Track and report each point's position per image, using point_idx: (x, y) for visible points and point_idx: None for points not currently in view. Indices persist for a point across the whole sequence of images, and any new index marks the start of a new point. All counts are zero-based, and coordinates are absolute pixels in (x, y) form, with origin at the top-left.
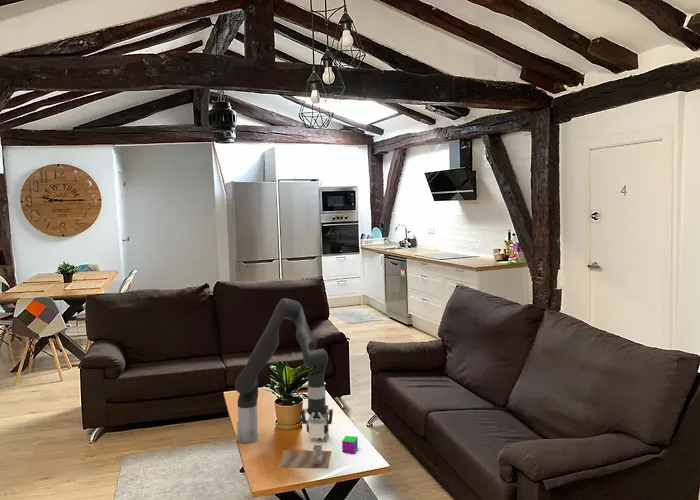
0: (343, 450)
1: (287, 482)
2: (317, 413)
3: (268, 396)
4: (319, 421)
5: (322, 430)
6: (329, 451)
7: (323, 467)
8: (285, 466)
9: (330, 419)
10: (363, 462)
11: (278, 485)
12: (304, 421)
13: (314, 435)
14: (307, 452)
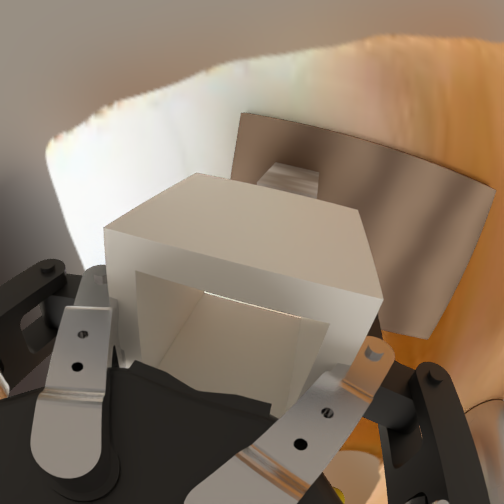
0: None
1: (452, 58)
2: (133, 472)
3: None
4: (199, 382)
5: (171, 200)
6: None
7: (265, 125)
8: (461, 185)
9: (10, 290)
10: (98, 183)
11: (486, 49)
12: (425, 389)
13: (295, 202)
14: None
